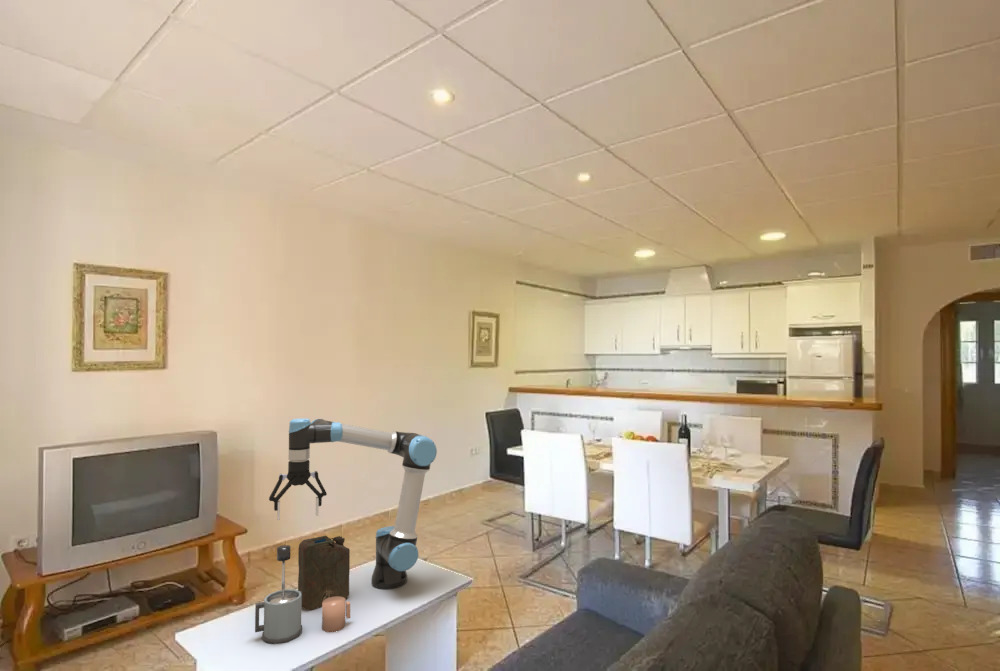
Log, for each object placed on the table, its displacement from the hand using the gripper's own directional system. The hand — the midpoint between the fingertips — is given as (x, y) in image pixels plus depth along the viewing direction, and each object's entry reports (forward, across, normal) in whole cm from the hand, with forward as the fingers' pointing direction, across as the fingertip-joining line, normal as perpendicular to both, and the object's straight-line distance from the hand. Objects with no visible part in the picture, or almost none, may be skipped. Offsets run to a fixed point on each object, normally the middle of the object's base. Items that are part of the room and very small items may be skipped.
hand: (297, 517), depth 200 cm
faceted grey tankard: (+37, +6, +11) cm, 39 cm away
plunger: (+25, +5, +11) cm, 28 cm away
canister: (+37, -11, -9) cm, 40 cm away
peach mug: (+37, -12, +13) cm, 41 cm away
